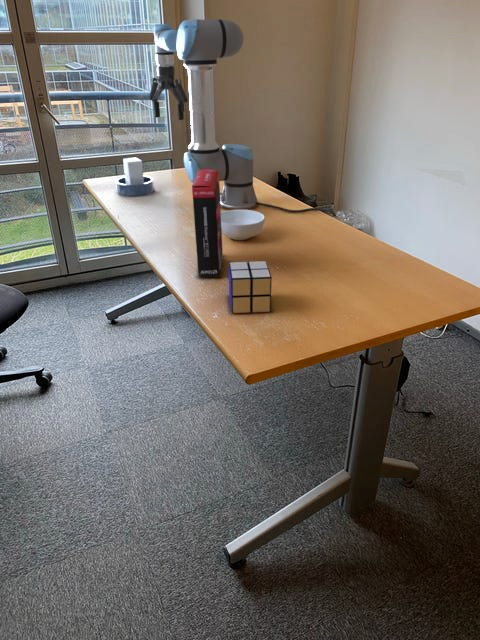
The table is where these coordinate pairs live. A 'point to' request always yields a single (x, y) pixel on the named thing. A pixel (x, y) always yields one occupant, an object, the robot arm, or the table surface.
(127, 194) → the bowl
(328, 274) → the table surface
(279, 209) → the robot arm
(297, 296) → the table surface
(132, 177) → the small box
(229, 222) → the cereal bowl
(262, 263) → the puzzle cube
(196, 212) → the graphics card box
